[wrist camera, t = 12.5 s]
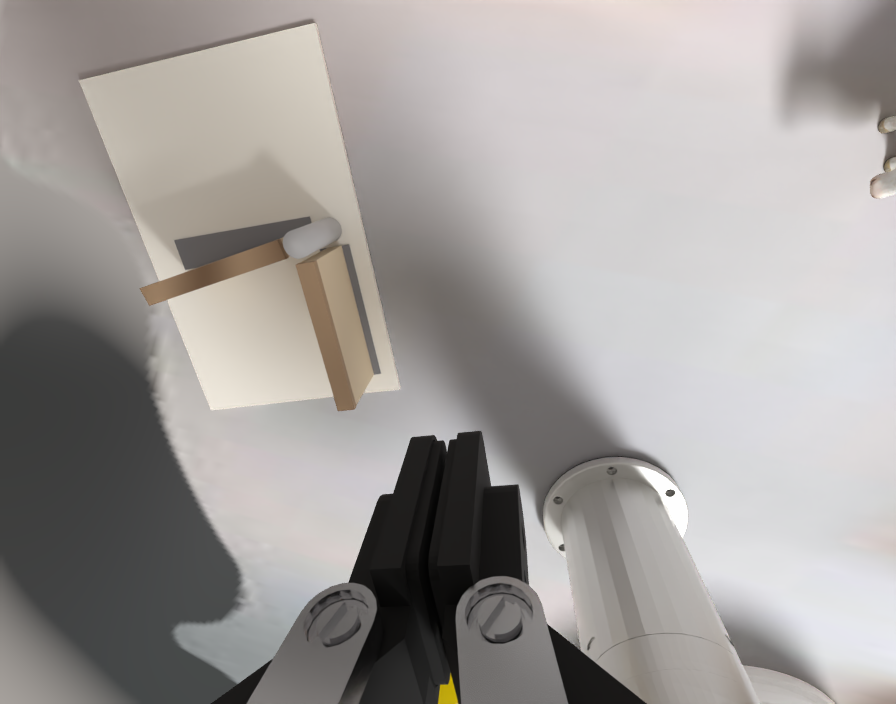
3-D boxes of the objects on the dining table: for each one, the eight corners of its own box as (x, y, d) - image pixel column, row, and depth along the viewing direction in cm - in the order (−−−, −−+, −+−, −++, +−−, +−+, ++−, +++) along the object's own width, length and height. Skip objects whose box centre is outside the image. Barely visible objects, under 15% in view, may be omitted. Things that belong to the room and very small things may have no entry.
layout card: (400, 387, 41) (382, 429, 35) (213, 408, 44) (165, 450, 38) (316, 24, 32) (270, -9, 25) (83, 81, 34) (-12, 64, 28)
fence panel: (308, 227, 36) (277, 239, 31) (315, 244, 36) (285, 259, 31) (187, 270, 38) (139, 288, 33) (195, 285, 39) (149, 305, 34)
